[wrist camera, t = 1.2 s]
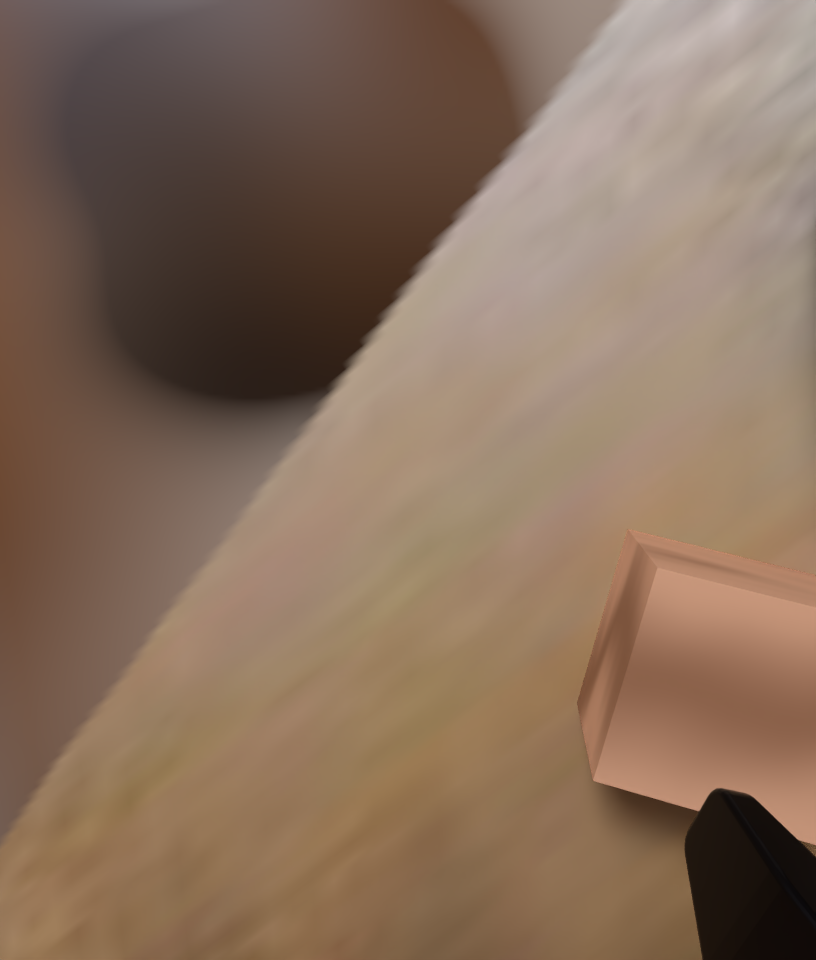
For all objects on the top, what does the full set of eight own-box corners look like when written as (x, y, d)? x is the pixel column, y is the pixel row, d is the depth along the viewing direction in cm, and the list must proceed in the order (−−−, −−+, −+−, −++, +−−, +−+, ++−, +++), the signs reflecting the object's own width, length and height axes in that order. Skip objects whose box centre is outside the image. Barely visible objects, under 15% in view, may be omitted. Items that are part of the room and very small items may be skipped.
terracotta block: (763, 752, 22) (828, 848, 17) (576, 700, 22) (593, 780, 18) (825, 576, 20) (911, 631, 16) (626, 527, 21) (657, 567, 17)
